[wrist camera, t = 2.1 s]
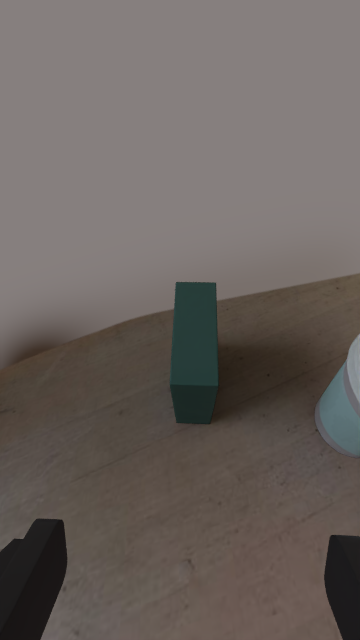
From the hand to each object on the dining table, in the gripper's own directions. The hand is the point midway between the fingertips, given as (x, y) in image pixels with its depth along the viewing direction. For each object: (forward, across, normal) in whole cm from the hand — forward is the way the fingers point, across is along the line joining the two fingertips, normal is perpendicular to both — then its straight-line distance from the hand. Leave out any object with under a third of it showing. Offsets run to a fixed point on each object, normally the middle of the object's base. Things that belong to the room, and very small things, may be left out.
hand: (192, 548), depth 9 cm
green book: (+20, 0, +4) cm, 20 cm away
